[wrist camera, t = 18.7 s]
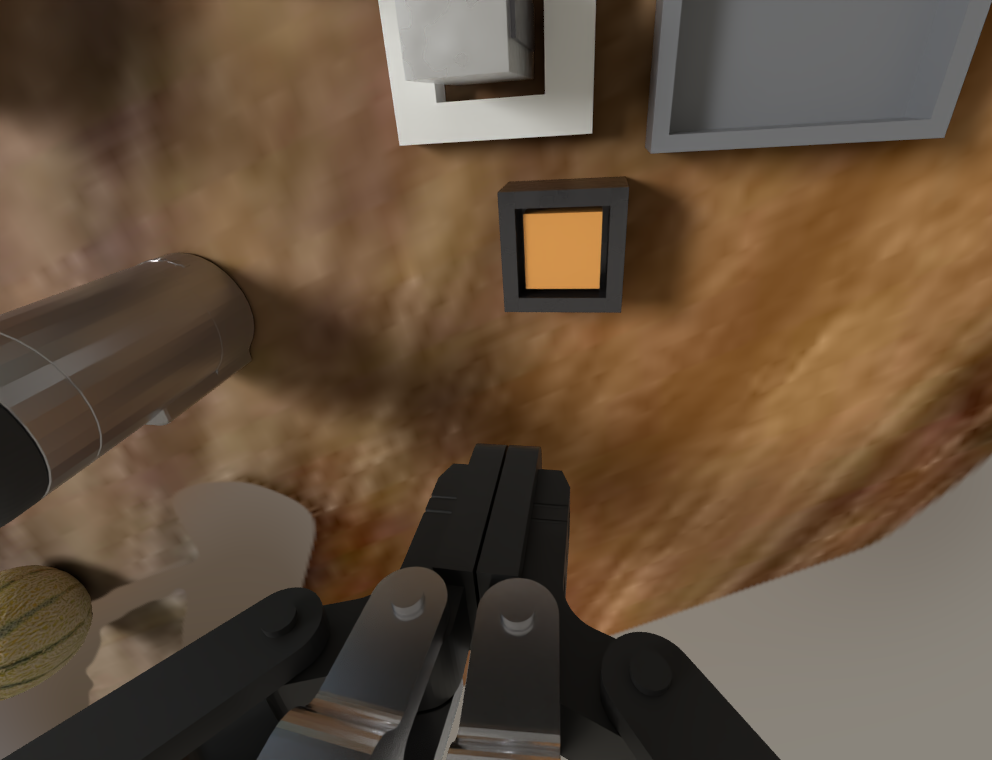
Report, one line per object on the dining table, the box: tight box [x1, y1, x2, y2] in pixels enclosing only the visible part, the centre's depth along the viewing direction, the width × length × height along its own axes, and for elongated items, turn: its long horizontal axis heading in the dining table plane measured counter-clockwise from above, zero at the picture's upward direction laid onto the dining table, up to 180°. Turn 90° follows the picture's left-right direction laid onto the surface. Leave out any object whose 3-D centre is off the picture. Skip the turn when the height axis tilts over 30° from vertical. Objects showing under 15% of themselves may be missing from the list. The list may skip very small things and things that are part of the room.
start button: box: [523, 206, 603, 289], centre depth 29 cm, size 4×4×2 cm
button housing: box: [498, 177, 629, 313], centre depth 29 cm, size 7×7×4 cm
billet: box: [395, 0, 535, 86], centre depth 23 cm, size 4×5×9 cm
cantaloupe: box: [0, 565, 93, 701], centre depth 59 cm, size 15×15×15 cm
